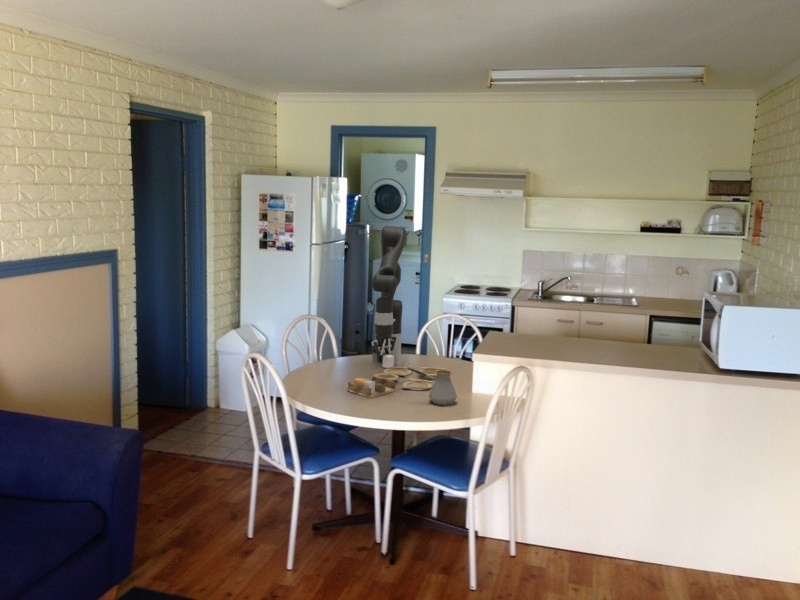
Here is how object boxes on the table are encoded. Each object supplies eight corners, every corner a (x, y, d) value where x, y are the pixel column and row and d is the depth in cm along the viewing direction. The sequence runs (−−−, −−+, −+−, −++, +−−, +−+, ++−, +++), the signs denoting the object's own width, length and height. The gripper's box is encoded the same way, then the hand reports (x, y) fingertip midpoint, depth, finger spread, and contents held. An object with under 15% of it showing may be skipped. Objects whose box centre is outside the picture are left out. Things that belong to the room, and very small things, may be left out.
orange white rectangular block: (353, 389, 296) (353, 379, 295) (359, 387, 298) (359, 377, 298) (369, 393, 290) (369, 383, 289) (374, 392, 293) (375, 381, 292)
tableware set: (389, 368, 338) (389, 360, 338) (447, 374, 329) (448, 366, 329) (363, 386, 305) (364, 377, 305) (427, 394, 296) (427, 384, 296)
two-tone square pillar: (372, 362, 294) (372, 352, 293) (378, 361, 297) (378, 351, 296) (387, 367, 288) (388, 357, 287) (393, 366, 291) (394, 356, 290)
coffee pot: (453, 398, 290) (455, 363, 288) (459, 406, 279) (460, 370, 276) (403, 398, 287) (404, 363, 285) (406, 407, 276) (407, 370, 274)
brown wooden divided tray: (347, 391, 296) (347, 382, 295) (372, 384, 307) (372, 375, 307) (370, 398, 287) (370, 389, 286) (395, 391, 298) (396, 382, 298)
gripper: (388, 318, 297) (388, 357, 300) (365, 323, 286) (365, 363, 290) (401, 321, 292) (400, 360, 295) (378, 326, 281) (378, 367, 285)
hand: (383, 361), depth 292 cm, fingers closed on two-tone square pillar, 3 cm apart
